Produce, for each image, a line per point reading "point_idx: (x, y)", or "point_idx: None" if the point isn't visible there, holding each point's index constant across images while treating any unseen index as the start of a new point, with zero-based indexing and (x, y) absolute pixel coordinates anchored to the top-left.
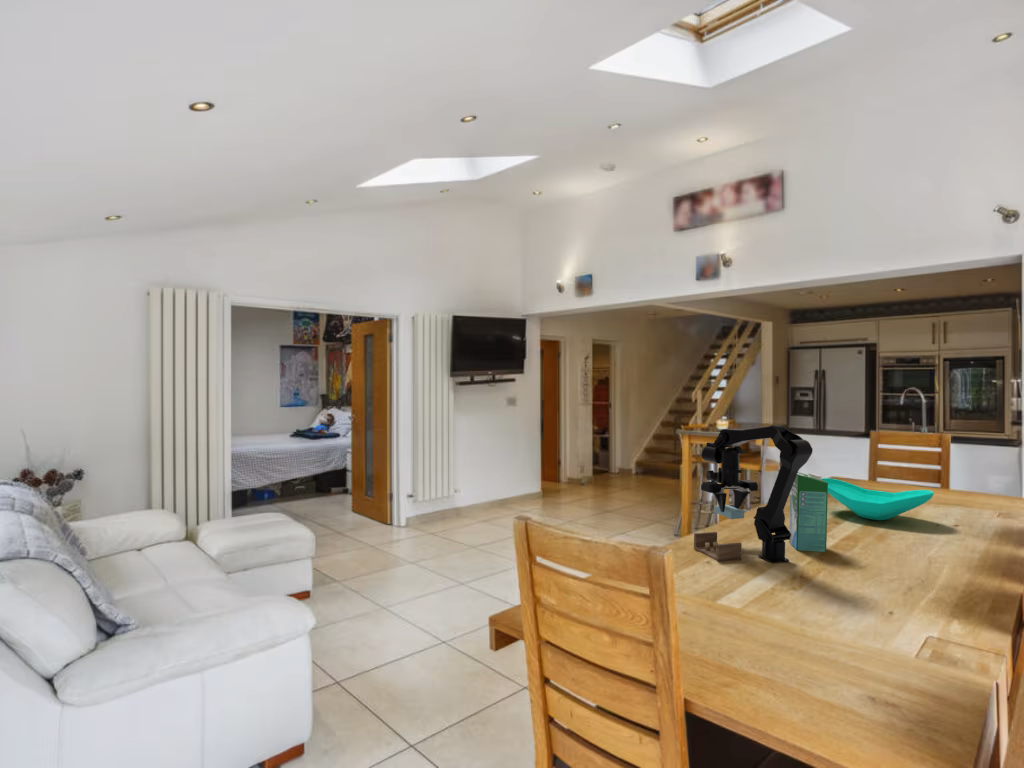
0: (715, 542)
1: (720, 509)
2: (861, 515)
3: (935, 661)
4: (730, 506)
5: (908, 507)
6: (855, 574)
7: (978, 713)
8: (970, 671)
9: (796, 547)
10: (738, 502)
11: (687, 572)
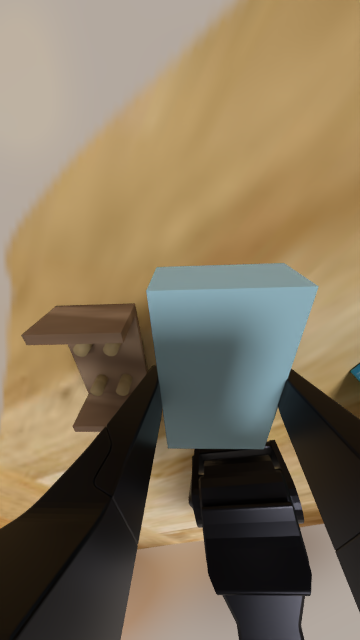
0: (110, 349)
1: (146, 377)
2: None
3: (169, 535)
4: (283, 348)
5: None
6: (299, 464)
7: (142, 548)
8: (179, 540)
9: (355, 376)
10: (307, 463)
11: (10, 422)
